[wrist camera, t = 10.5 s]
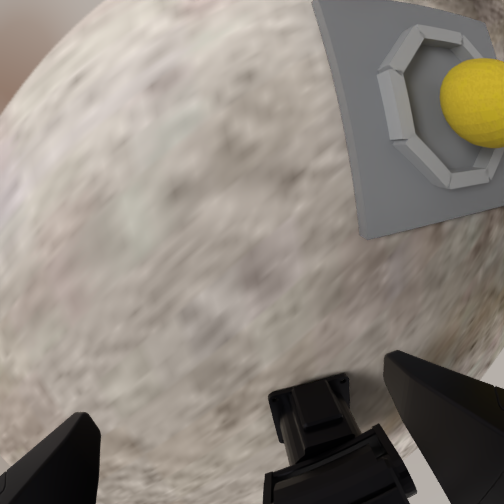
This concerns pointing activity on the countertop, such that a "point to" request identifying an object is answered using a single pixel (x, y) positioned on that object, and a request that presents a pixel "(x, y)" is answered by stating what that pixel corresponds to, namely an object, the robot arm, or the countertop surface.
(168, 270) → the countertop surface
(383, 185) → the ring plate
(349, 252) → the countertop surface
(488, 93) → the lemon
